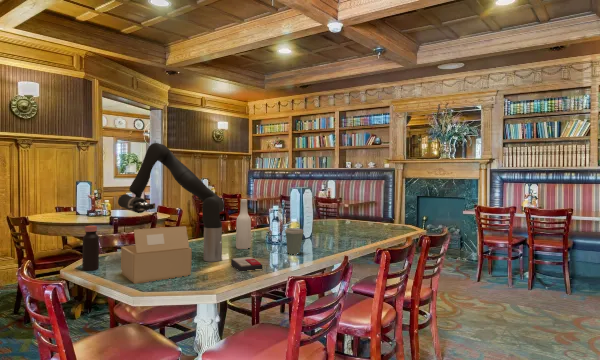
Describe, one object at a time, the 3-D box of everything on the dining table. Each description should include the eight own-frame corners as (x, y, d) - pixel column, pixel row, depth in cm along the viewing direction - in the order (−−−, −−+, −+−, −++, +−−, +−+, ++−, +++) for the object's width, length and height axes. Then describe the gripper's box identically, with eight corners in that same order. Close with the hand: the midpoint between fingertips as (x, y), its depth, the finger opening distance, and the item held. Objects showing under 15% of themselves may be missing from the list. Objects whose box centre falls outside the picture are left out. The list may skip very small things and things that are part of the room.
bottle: (90, 271, 184) (90, 227, 183) (78, 270, 186) (79, 226, 186) (102, 268, 190) (102, 225, 190) (91, 267, 192) (91, 225, 192)
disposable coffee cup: (292, 251, 239) (292, 226, 238) (306, 254, 232) (307, 228, 232) (280, 254, 230) (281, 228, 230) (296, 257, 224) (296, 230, 223)
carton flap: (185, 226, 183) (186, 226, 182) (188, 248, 179) (189, 247, 179) (133, 230, 169) (134, 229, 169) (136, 253, 166) (136, 252, 165)
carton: (175, 266, 196) (175, 241, 196) (191, 275, 180) (192, 248, 180) (120, 273, 181) (120, 246, 181) (133, 283, 165) (133, 254, 165)
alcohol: (250, 249, 243) (251, 199, 242) (236, 249, 241) (236, 199, 241) (250, 246, 252) (251, 198, 251) (235, 247, 250) (236, 198, 250)
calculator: (240, 265, 187) (231, 257, 200) (240, 274, 187) (230, 266, 200) (262, 263, 192) (252, 255, 205) (262, 272, 192) (251, 264, 205)
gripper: (123, 197, 200) (133, 200, 186) (150, 197, 208) (162, 199, 194) (123, 212, 200) (133, 216, 186) (150, 211, 208) (161, 215, 194)
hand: (147, 207), depth 190 cm, fingers closed
